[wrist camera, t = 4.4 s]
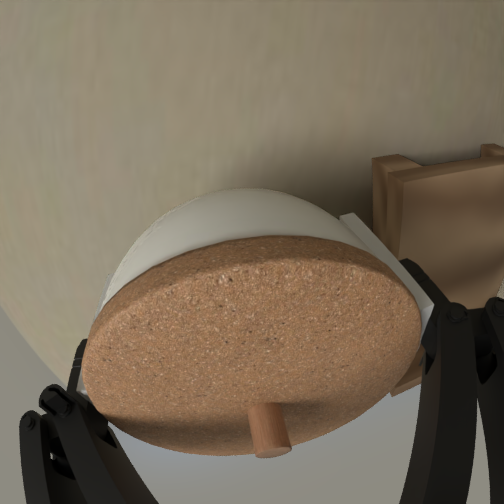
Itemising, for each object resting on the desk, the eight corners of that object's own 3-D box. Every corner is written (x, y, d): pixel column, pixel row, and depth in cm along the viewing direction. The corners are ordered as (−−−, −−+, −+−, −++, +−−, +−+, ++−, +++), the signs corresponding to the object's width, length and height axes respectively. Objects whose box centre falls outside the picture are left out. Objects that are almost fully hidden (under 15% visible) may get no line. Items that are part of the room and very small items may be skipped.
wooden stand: (364, 159, 16) (442, 208, 10) (497, 143, 16) (560, 176, 11) (359, 335, 25) (392, 396, 19) (467, 289, 25) (505, 332, 19)
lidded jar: (94, 287, 14) (52, 457, 6) (203, 100, 10) (209, 177, 2) (253, 352, 19) (283, 488, 11) (374, 231, 15) (482, 368, 7)
